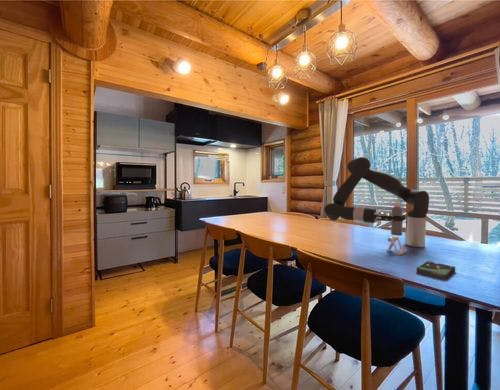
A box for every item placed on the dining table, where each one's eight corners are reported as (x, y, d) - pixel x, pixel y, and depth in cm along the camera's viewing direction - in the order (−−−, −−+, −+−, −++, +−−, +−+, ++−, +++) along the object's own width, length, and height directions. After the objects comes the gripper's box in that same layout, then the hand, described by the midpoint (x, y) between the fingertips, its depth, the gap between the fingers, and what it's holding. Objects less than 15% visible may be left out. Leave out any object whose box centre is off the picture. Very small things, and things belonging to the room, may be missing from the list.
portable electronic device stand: (400, 255, 130) (401, 240, 129) (384, 252, 136) (385, 237, 135) (407, 252, 135) (407, 237, 135) (391, 249, 141) (391, 235, 141)
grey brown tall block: (390, 234, 116) (391, 202, 115) (392, 233, 119) (392, 201, 119) (401, 236, 113) (402, 202, 112) (402, 234, 117) (403, 202, 116)
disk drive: (426, 266, 115) (416, 274, 106) (427, 260, 115) (416, 267, 106) (455, 273, 107) (446, 281, 98) (455, 266, 107) (446, 274, 98)
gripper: (360, 208, 119) (401, 211, 108) (368, 206, 130) (407, 208, 119) (360, 224, 120) (401, 228, 109) (368, 220, 131) (406, 224, 120)
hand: (403, 218), depth 114 cm, fingers closed on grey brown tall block, 4 cm apart
